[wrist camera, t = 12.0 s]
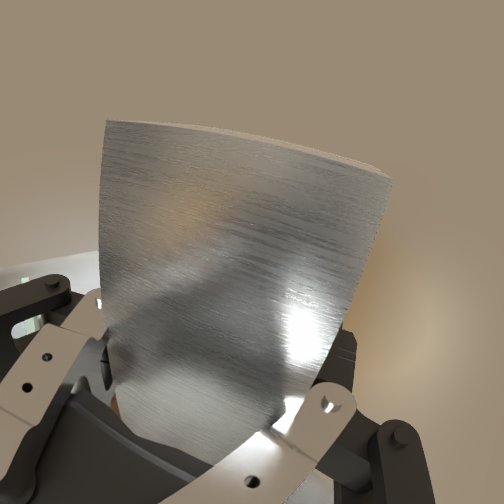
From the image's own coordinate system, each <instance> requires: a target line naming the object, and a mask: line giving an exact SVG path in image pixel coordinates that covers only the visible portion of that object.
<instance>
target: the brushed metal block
mask: <svg viewBox="0 0 504 504" xmlns="http://www.w3.org/2000/svg"><path fill="white" fill-rule="evenodd" d="M392 183H393V179H392V178H391V177H389V176H388V175H386V174H385V173H383V172H382V171H380V170H379V169H377V168H376V167H374V166H372V165H369V164H366V163H363V162H359V161H356V160H353V159H349V158H346V157H343V156H339V155H336V154H332V153H329V152H325V151H322V150H318V149H314V148H310V147H307V146H303V145H299V144H294V143H291V142H287V141H282V140H277V139H273V138H269V137H264V136H259V135H255V134H249V133H244V132H239V131H234V130H228V129H222V128H215V127H206V126H197V125H188V124H177V123H165V122H148V121H127V120H126V121H125V120H106V127H105V135H104V143H103V153H102V163H101V176H100V193H99V269H100V286H101V299H102V310H103V319H104V325H106V326H108V331H109V339H110V340H109V342H108V343H107V350H108V356H109V362H110V368H111V374H112V375H114V376H115V379H116V384H117V386H116V389H115V394H116V399H117V403H118V407H119V412H120V416H121V420H122V421H123V422H124V423H125V424H126V425H127V427H128V428H129V429H130V430H131V431H132V432H133V433H134V434H136V435H137V436H139V437H142V438H145V439H148V440H151V441H154V442H157V443H160V444H164V445H167V446H170V447H174V448H177V449H180V450H182V451H183V452H185V453H187V454H189V455H191V456H194V457H196V458H198V459H200V460H202V461H204V462H206V463H208V464H211V465H213V466H215V465H216V464H218V463H219V462H220V461H222V460H223V459H224V458H226V457H227V456H228V455H229V454H231V453H232V452H233V451H234V450H236V449H237V448H238V447H240V446H241V445H242V444H243V443H244V442H246V441H247V440H248V439H249V438H250V437H252V436H253V435H254V434H255V433H257V432H258V431H259V430H260V429H262V428H264V427H267V428H270V427H272V426H273V425H274V424H275V423H276V422H277V421H278V420H279V419H280V418H282V417H283V416H284V415H285V414H286V413H289V414H291V415H294V416H295V415H296V414H297V412H298V410H299V408H300V406H301V405H302V403H303V401H304V399H305V397H306V395H307V393H308V392H309V390H310V388H311V386H312V384H313V382H314V380H315V378H316V376H317V374H318V372H319V370H320V368H321V366H322V364H323V362H324V360H325V358H326V356H327V354H328V352H329V350H330V348H331V346H332V343H333V341H334V339H335V337H336V335H337V333H338V330H339V328H340V326H341V324H342V321H343V319H344V317H345V315H346V312H347V310H348V308H349V305H350V303H351V300H352V298H353V295H354V293H355V291H356V288H357V286H358V283H359V280H360V278H361V275H362V273H363V270H364V267H365V265H366V262H367V259H368V257H369V254H370V251H371V249H372V245H373V243H374V240H375V237H376V234H377V231H378V228H379V225H380V222H381V219H382V216H383V213H384V210H385V207H386V203H387V200H388V197H389V193H390V190H391V187H392Z"/></svg>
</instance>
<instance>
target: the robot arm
mask: <svg viewBox="0 0 504 504" xmlns="http://www.w3.org/2000/svg"><path fill="white" fill-rule="evenodd" d="M40 314H41V316H42V320H43V324H44V326H43V328H42V329H40V330H38V331H35V332H33V333H30V334H28V335H25V336H23V337H21V338H18V339H14V338H12V335H11V330H12V328H13V326H14V325H15V324H17V323H20V322H22V321H25V320H27V319H30V318H32V317H35V316H38V315H40ZM342 323H343V321H342ZM109 340H110V339H109V331H108V326H106V325H104V319H103V310H102V299H101V288H97V289H94V290H91V291H89V292H88V293H87V294H86V295H83V294H79V293H76V292H72V291H71V287H70V281H69V279H68V278H67V277H65V276H63V275H59V274H51V275H46V276H43V277H40V278H37V279H34V280H31V281H28V282H25V283H22V284H19V285H16V286H13V287H10V288H7V289H5V290H2V291H0V504H283V503H284V502H285V500H286V499H287V498H288V497H289V496H290V495H291V494H292V493H293V492H294V491H295V490H296V489H297V488H298V487H299V485H300V484H301V483H302V482H303V481H304V480H305V479H306V477H307V476H308V475H309V474H310V473H311V472H312V470H313V469H314V468H315V469H317V470H319V471H320V472H322V473H324V474H325V475H327V476H329V477H330V478H332V479H334V504H435V499H434V494H433V489H432V485H431V480H430V476H429V471H428V467H427V463H426V459H425V455H424V451H423V448H422V444H421V440H420V437H419V435H418V433H417V431H416V430H415V429H414V428H413V427H412V426H411V425H410V424H408V423H406V422H404V421H401V420H388V421H386V422H384V423H383V424H382V425H379V424H377V423H375V422H374V421H371V420H370V419H368V418H367V417H365V416H364V415H363V414H361V413H360V412H359V411H358V410H357V404H356V400H355V398H354V396H353V395H352V387H353V379H354V370H355V360H356V349H357V342H356V339H355V337H354V335H353V333H352V332H348V331H345V330H342V324H341V326H340V328H339V330H338V333H337V335H336V337H335V339H334V341H333V343H332V346H331V348H330V350H329V352H328V354H327V356H326V358H325V360H324V362H323V364H322V366H321V368H320V370H319V372H318V374H317V376H316V378H315V380H314V382H313V384H312V386H311V388H310V390H309V392H308V393H307V395H306V397H305V399H304V401H303V403H302V405H301V406H300V408H299V410H298V412H297V414H296V415H295V416H294V415H291V414H289V413H286V414H285V415H284V416H283V417H282V418H280V419H279V420H278V421H277V422H276V423H275V424H274V425H273V426H272V427H270V428H267V427H264V428H262V429H260V430H259V431H258V432H257V433H255V434H254V435H253V436H252V437H250V438H249V439H248V440H247V441H246V442H244V443H243V444H242V445H241V446H240V447H238V448H237V449H236V450H234V451H233V452H232V453H231V454H229V455H228V456H227V457H226V458H224V459H223V460H222V461H220V462H219V463H218V464H216V465H215V466H213V465H211V464H208V463H206V462H204V461H202V460H200V459H198V458H196V457H194V456H191V455H189V454H187V453H185V452H183V451H182V450H180V449H177V448H174V447H170V446H167V445H164V444H160V443H157V442H154V441H151V440H148V439H145V438H142V437H139V436H137V435H136V434H134V433H133V432H132V431H131V430H130V429H129V428H128V427H127V425H126V424H125V423H124V422H123V421H122V420H121V419H120V418H119V417H118V416H117V415H116V413H115V412H114V411H113V410H112V409H111V408H110V403H111V399H112V396H113V394H114V391H115V389H116V386H117V384H116V379H115V376H114V375H112V374H111V368H110V362H109V356H108V350H107V343H108V342H109Z"/></svg>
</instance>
